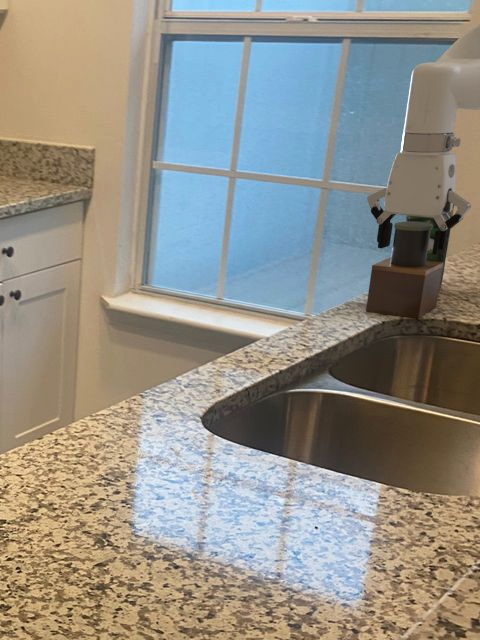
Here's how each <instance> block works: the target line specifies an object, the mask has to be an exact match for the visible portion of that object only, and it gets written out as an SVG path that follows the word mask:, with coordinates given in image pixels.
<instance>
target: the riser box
mask: <svg viewBox="0 0 480 640" xmlns="http://www.w3.org/2000/svg"><path fill="white" fill-rule="evenodd" d="M390 262H391V256H390V257H387V258H385V259H383V260H381V261H378V262H376V263H374V264H372V265H371V271H370V280H369V285H368V293H367V298H366V300H367V301H366V307H365V311H366V312H370V313H377V314H384V315H391V316H399V317H404V318H405V317H407V318H414V319H420V318H422V317H423V316H425V315H426V314H428V313H430V312H431V311H433V310H435V309H436V308H437V305H438V298H439V292H440V288H441V287H440V281H441V275H442V269H443V263H444V262H437V261H427V260H426V264H425V265H424V266H419V267H405V266H397V265H393V264H391V263H390ZM439 287H440V288H439Z"/></svg>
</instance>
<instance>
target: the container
mask: <svg viewBox="0 0 480 640" xmlns="http://www.w3.org/2000/svg"><path fill="white" fill-rule="evenodd" d="M393 226H394V235H393V243H392V247H391V255H390V257H391V262H390V263H391V264H393V265H397V266H405V267H419V266H424V265H425V264H426V258H427V251H428V245H429V239H430V233H431V229H432V228H433V224H430V223H425V222H406V221H398V222H395V223H394V225H393Z"/></svg>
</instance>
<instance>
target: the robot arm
mask: <svg viewBox="0 0 480 640" xmlns="http://www.w3.org/2000/svg"><path fill="white" fill-rule="evenodd" d="M458 109H463V110H474V111H480V23H479V24H477V25H476V26H474V27H472V28H471V29H470V30H468V31H467V32H465V33H464V34H463V35H461V36H460V37H459V38H458V39H457V40H455V41H454V42H453V43H452V44H451V45H450V46H449V47H448V48H447V50H446V51H444V52H443V54H442V55H440V57H439V58H437V60H436V61H432V62H431V61H430V62H422V63H419V64H417V65H416V66H414V68H413V70H412V72H411V78H410V84H409V91H408V97H407V104H406V112H405V118H404V126H403V133H402V140H401V145H400V146H401V147H400V151H398V152H397V153H396V155H395V157H394V159H393V163H392V166H391V169H390V173H389V176H388V181H387V185H386V187H385V188H382V189H381V190H379V191H376V192H374V193H372V194H370V195H368V196H367V199H366V200H367V203H368V206H369V209H370V213H371V214H372V216H373V217H374V219H375V221H376V224H377V225H378V228H377V236H376V243H377V249H384V248H388V247H389V246H391V240H392V235H393V226H394V225H393V222H391V220H393V218H395V216H397V215H398V216H399V215H400V216H407V215H408V216H419V217H433V218H434V220H435V221H436V223H437V225H438V227H439V230H437V231H436V232H435V238H434V244H433V251H432V254H433V255H438V254H441V253H443V252H444V250H445V249H446V248H447V245H448V246H449V242H448V239H449V240H450V236H449V233H450V234H451V229H453V228H454V227H455V226H456V225H458V224H459V223H460V222H461V221H463V219H464V217H465V216H466V215H467V213H468V212H469V211H470V209H471V208H472V203H470V202H469V201H468V200H466V199H465V198H463V197H462V196H460V195H459V194H457V192H456V179H457V160H456V153H454V152H451V151H452V150H453V148H459V147H460V145H461V138H460V137H456V136H455V132H454V130H455V124H456V119H457V118H456V117H457V111H458ZM381 199H384V205H383V206H384V209H383V208H382V206H381V205H380V200H381ZM453 204H454V207H456V208H457V209H456V211H455V213H453V216H452V217H451V218H450V216H449V214H448V213H450V212H451V210H452V207H453ZM447 249H448V248H447Z"/></svg>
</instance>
